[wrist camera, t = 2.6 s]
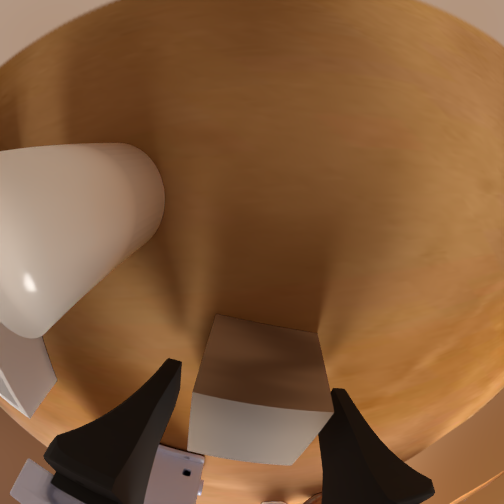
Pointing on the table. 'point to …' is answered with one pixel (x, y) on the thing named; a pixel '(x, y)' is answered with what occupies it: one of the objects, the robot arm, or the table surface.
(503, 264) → the table surface
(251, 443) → the walnut cube
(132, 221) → the ceramic cylinder
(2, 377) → the tote
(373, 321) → the table surface
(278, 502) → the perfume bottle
